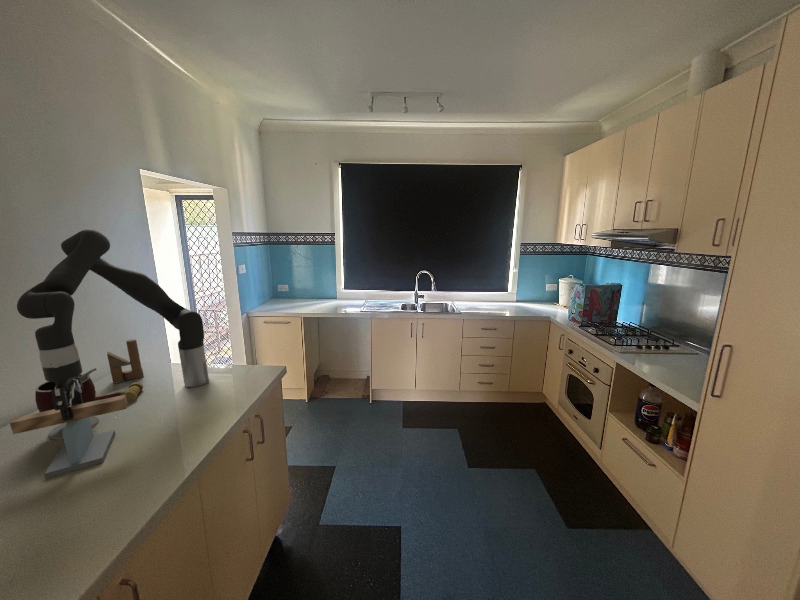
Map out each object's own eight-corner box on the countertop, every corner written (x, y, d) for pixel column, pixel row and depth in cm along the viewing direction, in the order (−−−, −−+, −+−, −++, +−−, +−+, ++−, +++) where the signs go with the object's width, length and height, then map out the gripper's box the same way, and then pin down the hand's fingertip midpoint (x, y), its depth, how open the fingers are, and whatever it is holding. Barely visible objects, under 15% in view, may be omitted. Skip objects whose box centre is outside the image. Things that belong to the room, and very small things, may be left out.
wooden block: (113, 380, 146) (105, 343, 143) (143, 374, 153) (136, 338, 149) (113, 383, 144) (105, 345, 140) (143, 377, 150) (136, 340, 146)
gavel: (65, 406, 120) (78, 394, 129) (68, 417, 121) (81, 404, 130) (133, 391, 128) (141, 380, 137) (136, 401, 129) (144, 390, 138)
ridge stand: (115, 433, 108) (108, 401, 105) (103, 462, 94) (94, 425, 92) (66, 446, 101) (57, 411, 99) (45, 478, 88) (34, 439, 86)
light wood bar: (13, 434, 88) (9, 423, 87) (18, 428, 91) (15, 417, 90) (125, 409, 100) (123, 398, 99) (127, 404, 103) (125, 394, 102)
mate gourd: (38, 446, 102) (22, 388, 97) (53, 424, 113) (39, 371, 109) (103, 429, 110) (91, 375, 106) (111, 411, 121) (100, 361, 117)
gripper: (52, 355, 96) (64, 405, 99) (30, 373, 84) (46, 429, 87) (86, 350, 99) (97, 398, 103) (70, 366, 87) (83, 420, 91)
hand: (73, 412), depth 95 cm, fingers open, 8 cm apart
